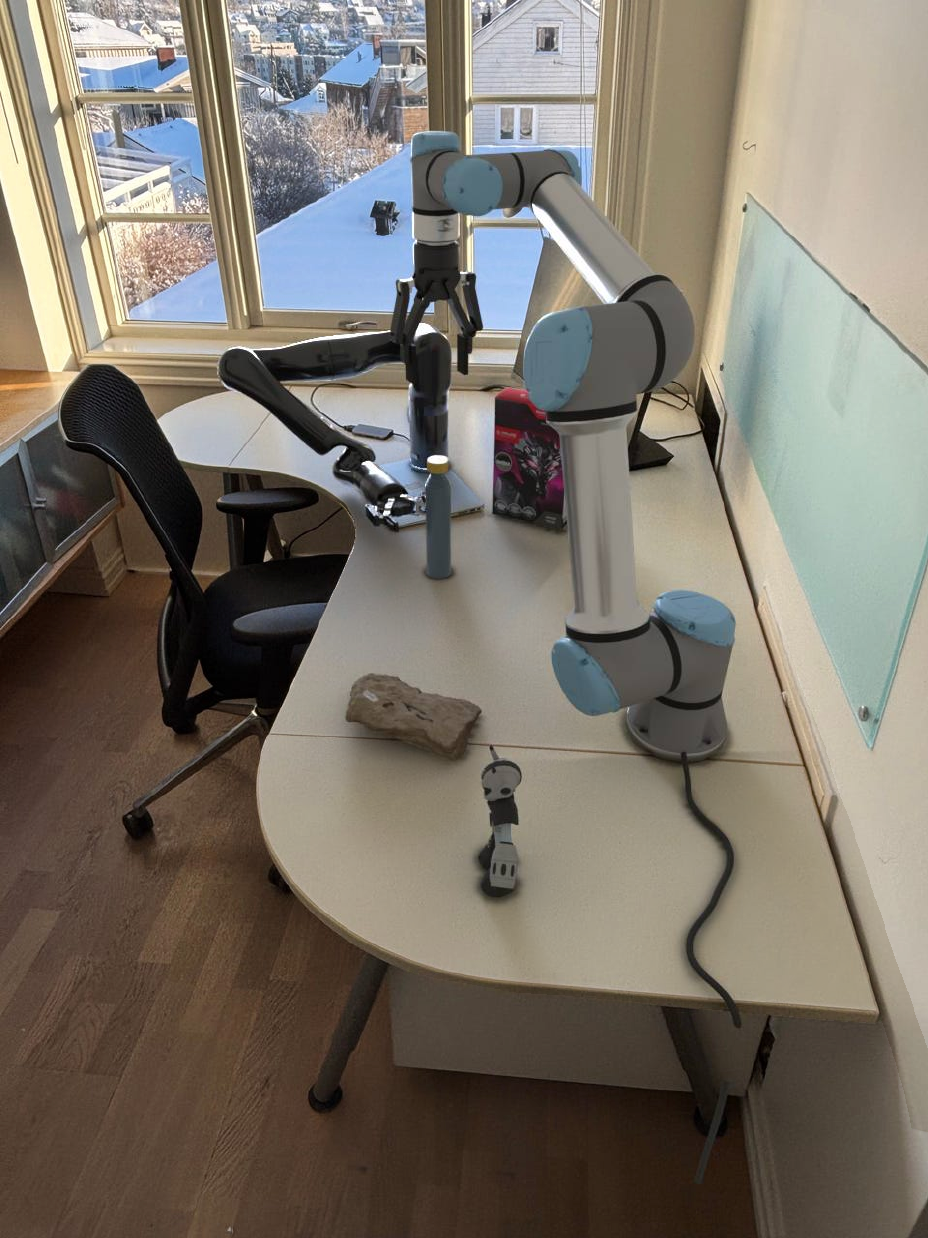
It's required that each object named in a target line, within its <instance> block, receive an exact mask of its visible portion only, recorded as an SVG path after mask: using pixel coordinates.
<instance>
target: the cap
mask: <svg viewBox="0 0 928 1238" xmlns="http://www.w3.org/2000/svg"><path fill="white" fill-rule="evenodd" d="M448 459H449V457H448V458H447V457H445V456H441V455H435V456H431V457H429V458H428V459H427V470H428V471H429V472H431V473H436V474H440V473H445V474H446V473H447V472H448V471H449V470H450V469H449V468H450V460H448ZM431 473H430V474H431Z"/></svg>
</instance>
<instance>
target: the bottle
mask: <svg viewBox="0 0 928 1238" xmlns="http://www.w3.org/2000/svg"><path fill="white" fill-rule="evenodd" d="M424 490H425V491H424V492H425V507H424V510H425V509H426V516H425V559H426V561H425V563H426V575H427V576H428V577H430V578H431V579H432V578H433V579H441V580H442V579H445V578H448V577H450V575H451V574H452V484H451V481H450V479H449V477H448V476H447V474H446V472H445V473H440V474H436V473H429V475H428V477H427V479H426V481H425V484H424Z"/></svg>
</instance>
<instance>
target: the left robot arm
mask: <svg viewBox="0 0 928 1238" xmlns="http://www.w3.org/2000/svg"><path fill="white" fill-rule="evenodd" d="M389 334H390V330H387V331H386V330H385V331H380V332H363V333H355V334H341V335H333V336H324V337H318V338H314V339H309V340H305V341H301V342H297V343H292V344H290V345H286V346H282V347H276V348H275V347H274V348H260V349H259V348H258V349H255V348H254V349H250V348H247V347H242V346H235V347H230V348H229V349H227V350H226V351H224V352H223V353H222V354H221V355H220V357H219V358H218V360H217V363H216V374H217V377H218V380H219V381H220V383H221V384H222V385H223V386H224V387H225V388H227V389H228V390H230V391H232V392H234V393H235V392H236V393H240V394H242V395H244V396H246V397H248V398H249V399H251V400H253V401H254V402H256V403H257V404H259V405H260V406H261V407H263V408H264V409H265V410H266V411H268V413H270V414H272V415H273V417H275V418H276V419H277V420H278V421H279V422H280V423H281V424H282V425H283V426H284V427H285V428H286V429H287V430H288V431H289V432H290V433H292V435H294V436H295V438H297V439H298V440H299V441H301V442H302V443H303V444H305V445H306V447H308V448H309V449H311V450H312V451H313V452H314V453H315V454H317V455H318V456H321V457H324V456H326V455H328V454H329V453H330V452H332V451H333V450H334V449H336V448H337V447H345V448H344V450H343V451H342V452H341V453H340V454H339V456H338V457H337V458H336V459H335V460H334V462H333V464H332V466H331V474H332V476H333V478H334V479H335V480H336V481H337V482H338V483H340V484H341V485H344V486H346V487H349V488H352V489H356V490H358V492H359V493H361V495H362V496H363V497H364V498H365V500H366V501H367V502H368V503H366V504H365V505H364V506H365V509H364V510H365V517H366V518H367V520H369V522H370V523H371V524H372V526H373V527H375V528H378V527H380V525H383V527H386V528H387V529H388V530H389V531H391V532H394V533H395V534H396V533H399V532H400V523H399V522H398V521H397V519H395V518H400V517H402V516H409V515H410V516H414V517H419V516H423V517H424V516H425V517H426V509H425V491H420V492H419V495H417V496H414V495H412V494H409V492H408V490H407V489H406V487H404V486H403V484H402V483H400V482H399V481H398V480H397V479H396V478H395V477H394V476H393V475H391V474H390V473H389V472H387V471H386V470H384V469H383V468H382V467H381V466H380V465H379V464H378V463H376V460H377V455H376V452H375V450H374V449H373V448H372V447H371V446H370V445H368V444H367V443H365V442H363V441H361V440H359V439H356V438H355V437H352V436H349V435H347V434H346V433H344V432H342V431H340V430H339V429H337V428H336V427H334V426H333V425H332V424H331V423H330V422H329V421H327V420H326V419H325V418H324V417H323V416H322V415H321V414H319V413H318V412H316V411H315V410H314V409H313V408H311V407H310V406H309V405H308V404H306V403H305V402H303V400H301V399H300V398H299V397H297V396H296V395H295V394H293V393H292V392H291V391H290V390H289V389H288V388H287V387H285V386H284V384H283V383H288V382H290V383H291V382H294V383H295V382H297V383H298V382H299V383H304V382H305V383H307V382H308V383H309V382H329V381H336V380H337V381H339V380H345V379H351V378H355V377H357V376H361V375H363V374H365V373H367V372H369V371H371V370H374V369H377V368H378V367H381V366H384V365H389V364H397V363H399V364H400V363H402V361H401V349H400V344H397V343H395V342H394V341H392V340H390V338H389ZM412 344H414V345H415V346H416V374H417V384H411V383H409V386H408V403H407V407H406V415H407V420H408V422H409V456H410V460H409V466H410V468H411V469H412V470H413V471H416V472H420V473H424V474H425V473H426V474H431V472H429V471H428V470H423V469H418V468H415V467H413V466H412V465H411V464H410V462H411V463H412V464H413V465H414V466H417V467H420V468H427V459H428V458H429V457H431V456H435V455H441V456H445V457H447V458H448V460H449V391H450V388H451V384H452V367H453V366H452V365H453V363H452V361H453V354H452V353H453V352H452V346H451V343H450V341H449V338H448V337H447V336H446V335H445V334H444V333H442V331H441V330H440V329H438V328H437V327H436V326H434V325H432V324H429V323H420V324H419V327H418V329H417V332H416V334H415V336H414V339H413V341H412ZM449 461H450V460H449ZM423 508H424V510H422V509H423Z"/></svg>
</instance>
